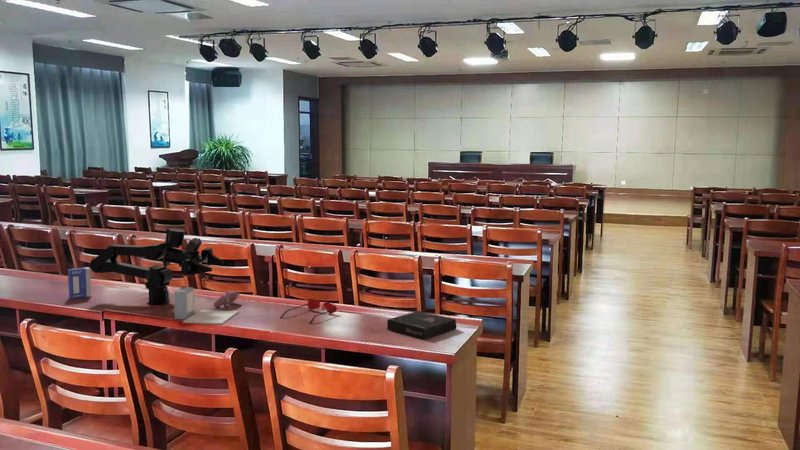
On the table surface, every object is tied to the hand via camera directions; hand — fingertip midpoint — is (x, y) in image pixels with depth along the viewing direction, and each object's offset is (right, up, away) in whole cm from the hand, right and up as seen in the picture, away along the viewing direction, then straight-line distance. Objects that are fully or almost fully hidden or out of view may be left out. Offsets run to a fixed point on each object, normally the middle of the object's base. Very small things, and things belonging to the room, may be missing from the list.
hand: (217, 266), depth 239 cm
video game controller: (+3, -16, +3) cm, 16 cm away
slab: (-8, -17, -14) cm, 23 cm away
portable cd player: (+77, -20, -26) cm, 84 cm away
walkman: (-59, -14, +13) cm, 62 cm away
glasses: (+37, -18, -11) cm, 42 cm away
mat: (+2, -17, -15) cm, 23 cm away
